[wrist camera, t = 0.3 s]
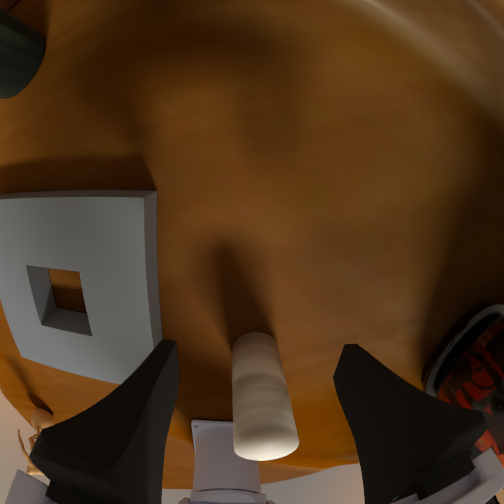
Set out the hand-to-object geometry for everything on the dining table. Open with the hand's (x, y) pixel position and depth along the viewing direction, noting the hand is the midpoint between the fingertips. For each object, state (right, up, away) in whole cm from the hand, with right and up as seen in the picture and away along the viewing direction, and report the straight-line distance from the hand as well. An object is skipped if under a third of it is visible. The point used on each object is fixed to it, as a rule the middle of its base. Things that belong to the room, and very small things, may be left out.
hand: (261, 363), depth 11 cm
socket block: (-16, +2, +9) cm, 18 cm away
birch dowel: (0, -4, +12) cm, 13 cm away
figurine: (-30, -19, +16) cm, 38 cm away
